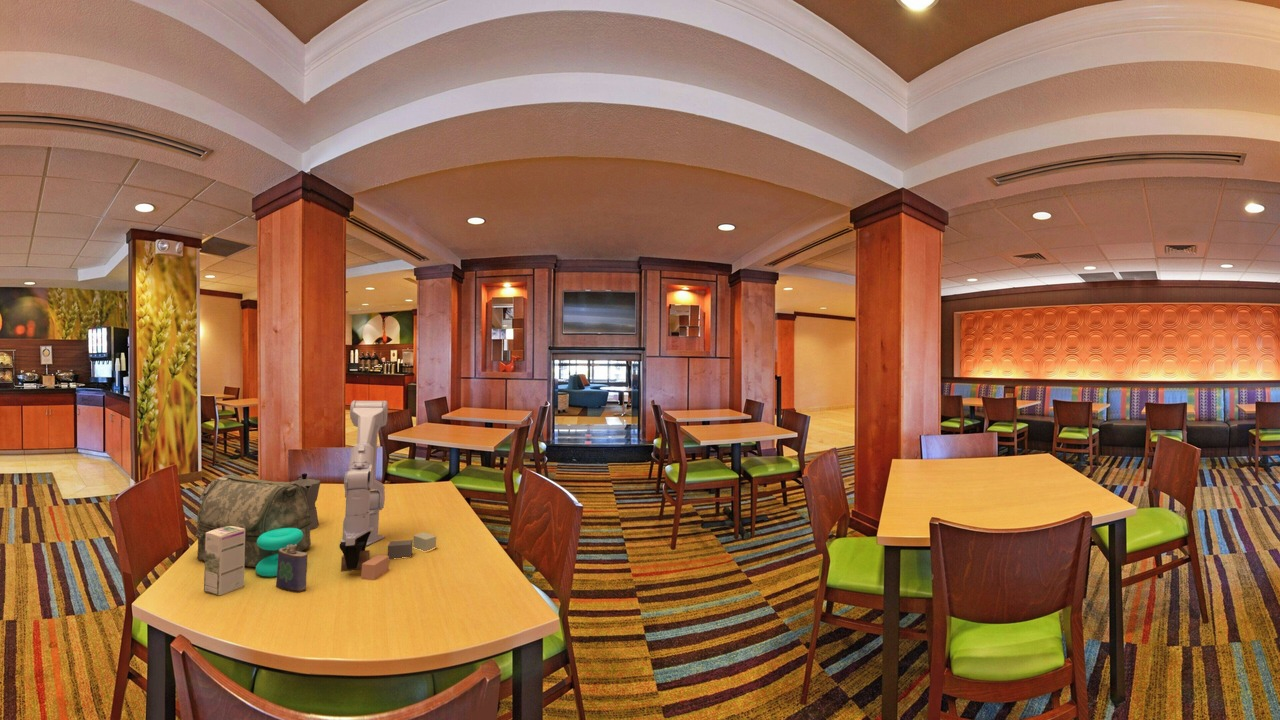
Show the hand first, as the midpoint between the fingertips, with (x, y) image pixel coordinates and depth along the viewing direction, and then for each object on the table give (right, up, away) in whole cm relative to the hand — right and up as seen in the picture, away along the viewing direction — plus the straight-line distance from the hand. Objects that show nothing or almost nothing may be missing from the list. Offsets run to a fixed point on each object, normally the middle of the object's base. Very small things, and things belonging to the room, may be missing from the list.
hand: (355, 562), depth 132 cm
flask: (-9, -1, -12) cm, 15 cm away
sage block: (+12, -2, +15) cm, 19 cm away
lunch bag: (-33, 0, +6) cm, 33 cm away
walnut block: (0, -2, 0) cm, 2 cm away
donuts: (-18, -1, -3) cm, 19 cm away
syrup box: (-24, -1, -14) cm, 28 cm away
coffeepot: (-35, -1, +29) cm, 45 cm away
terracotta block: (+7, -2, -4) cm, 8 cm away
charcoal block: (+8, -2, +9) cm, 12 cm away
